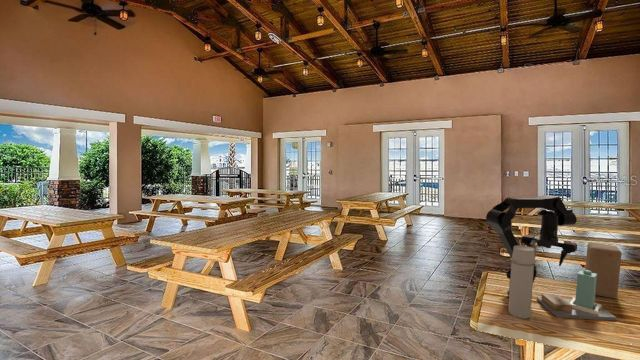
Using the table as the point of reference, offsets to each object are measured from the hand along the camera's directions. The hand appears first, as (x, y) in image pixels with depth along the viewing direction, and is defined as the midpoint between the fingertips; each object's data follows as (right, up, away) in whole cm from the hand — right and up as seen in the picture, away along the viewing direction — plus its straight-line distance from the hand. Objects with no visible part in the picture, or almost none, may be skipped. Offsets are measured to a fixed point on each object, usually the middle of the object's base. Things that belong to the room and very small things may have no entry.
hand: (546, 263), depth 142 cm
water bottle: (-21, -15, -16) cm, 31 cm away
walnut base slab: (-5, -13, -12) cm, 19 cm away
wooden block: (+24, -13, +3) cm, 28 cm away
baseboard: (+2, -14, -13) cm, 19 cm away
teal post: (+5, -13, -13) cm, 20 cm away
